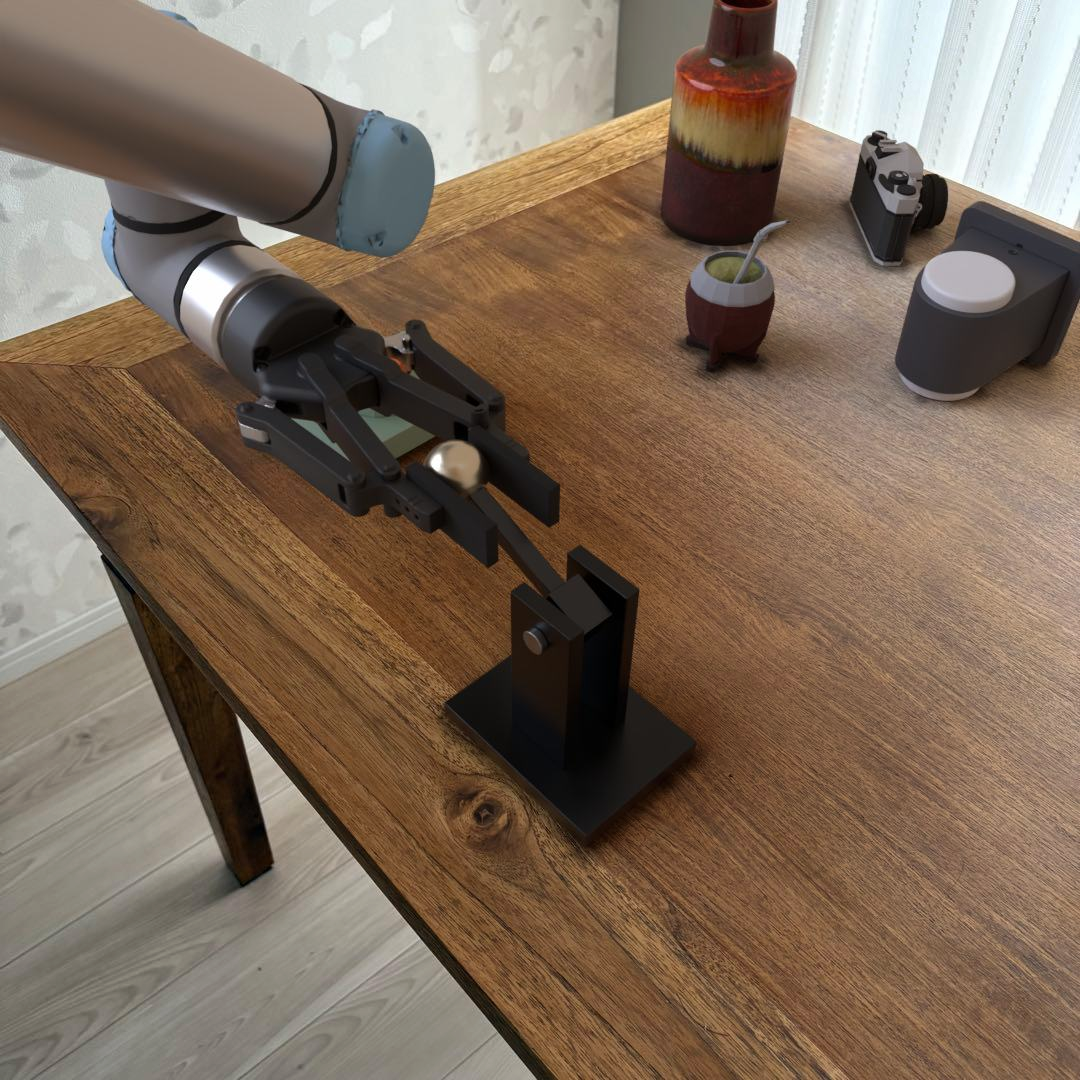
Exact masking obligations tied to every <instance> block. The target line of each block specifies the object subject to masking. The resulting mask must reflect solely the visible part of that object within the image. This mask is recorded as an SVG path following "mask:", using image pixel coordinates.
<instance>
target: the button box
mask: <svg viewBox="0 0 1080 1080" xmlns="http://www.w3.org/2000/svg"><path fill="white" fill-rule="evenodd" d="M403 333H406V330H402V331H400V332H398V333H396V334H395V335H397V334H403ZM407 373H408V374H410V375H412V376H414V377H416V378H418V376H417V375H416V374H415V372H414V370H413V371H407ZM418 379H419V378H418ZM358 413H359V414H360V416H361V417H362V418H363V419H364V421H365V422H366V423H367V424H368V425H369V427H370V428H371V429H372V430H373V432H374V433H375V434H376V435H377V436H378V438H379V439H380V440H381V441H382V443H383V444H384V445H385V446H386V447H387V449H388V450H389V451H390V452H391V454H392V455H393V456H394V457H395V459H396V460H397V459H398V458H399V457H401V456H403V455H405V454H406V453H409V452H411V451H412V450H413V449H416V448H417V447H419V446H421V445H422V444H423V445H424V443H426V442H428V441H429V440H432V439H433V438H435V437H436V436H435V435H433V434H431V433H429V432H427V431H425V430H423V429H421V428H419V427H417V426H415V425H413V424H411V423H409V422H407V421H405V420H403V419H401V418H399V417H398V416H396V415H394V414H392V415H391V416H389V417H386V416H384V415H382V414H380V413H378V412H376V411H374V410H372V409H370V408H367V409H364V410H361V411H359V412H358ZM291 419H293V418H291ZM293 420H294V421H295V422H297V423H298V424H299V425H301V426H302V427H304V428H305V429H306V430H308V431H309V432H310V433H312V434H313V435H315V436H316V437H317V438H319V439H320V440H321V441H323V442H324V443H326V444H327V445H328V446H330V447H331V448H332V449H334V450H335V451H336V452H338V453H339V454H341V455H342V456H343V457H345V458H346V459H347V460H349V459H348V458H347V457H346V455H345V454H344V453H343V451H342V450H341V449H340V448H339V446H338V445H337V444H336V443H332V442H331V441H330V440H329V438H328V437H327V436H326V435H325V433H324V432H323V431H322V429H321V428H320V427H319V425H318V424H317V423H315V422H314V421H308V420H300V419H293ZM349 461H350V460H349Z"/></svg>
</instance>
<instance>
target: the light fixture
mask: <svg viewBox="0 0 1080 1080" xmlns="http://www.w3.org/2000/svg"><path fill="white" fill-rule="evenodd" d="M1079 304H1080V241H1078V240H1076V239H1074V238H1072V237H1069V236H1067V235H1065V234H1062V233H1060V232H1057V231H1055V230H1053V229H1051V228H1048V227H1046V226H1043V225H1041V224H1039V223H1036V222H1034V221H1031V220H1029V219H1027V218H1026V217H1025V218H1024V217H1023V216H1020V215H1018V214H1015V213H1013V212H1011V211H1008V210H1006V209H1003V208H1001V207H998V206H996V205H994V204H992V203H990V202H987V201H985V200H984V201H983V200H977V201H974V202H973V203H972V204H970V205H969V206H967V207H966V208H965V209H964V210H962V212H961V215H960V217H959V221H958V225H957V228H956V231H955V235H954V238H953V241H952V242H951V243H950V244H949V245H948V246H947V247H946V248H944V249H943V250H942V251H941V252H940V253H938V255H936V256H934V257H933V258H932V259H930V260H929V261H928V262H927V263H926V265H925V266H924V267H923V268H922V269H921V270H920V271H919V273H918V274H917V275H916V277H915V280H914V283H913V286H912V290H911V294H910V298H909V301H908V305H907V309H906V313H905V317H904V321H903V325H902V328H901V333H900V336H899V340H898V344H897V347H896V352H895V355H894V356H895V357H894V364H895V367H896V369H897V370H898V375H899V378H900V379H901V381H902V383H903V384H904V385H905V386H906V387H907V388H908V389H909V390H911V391H912V392H914V393H916V394H917V395H919V396H922V397H924V398H927V399H930V400H935V401H942V402H943V401H944V402H950V401H951V402H952V401H958V400H959V401H960V400H963V399H966V398H969V397H971V396H972V395H974V394H976V393H977V391H979V389H980V388H981V387H983V386H985V385H986V384H988V383H989V382H991V381H992V380H994V379H995V378H997V377H998V376H1000V375H1001V374H1003V373H1004V372H1006V371H1008V370H1009V369H1010V368H1012V367H1013V366H1015V365H1016V364H1018V363H1019V362H1021V361H1022V360H1024V361H1026V362H1027V363H1029V364H1031V365H1034V366H1037V367H1044V366H1047V365H1048V364H1049V363H1050V362H1051V361H1052V360H1054V359H1055V358H1056V357H1057V356H1058V355H1059V353H1060V351H1061V348H1062V346H1063V343H1064V341H1065V338H1066V336H1067V333H1068V331H1069V328H1070V325H1071V324H1072V321H1073V318H1074V316H1075V313H1076V310H1077V308H1078V306H1079Z"/></svg>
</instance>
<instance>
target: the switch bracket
mask: <svg viewBox="0 0 1080 1080" xmlns="http://www.w3.org/2000/svg"><path fill="white" fill-rule="evenodd" d="M578 573H579V574H580V575H581V577H582V578H583V579H584V580H585V581H586V582H587V584H588V585H589V586H590V587H591V588H592V590H593V591H594V592H595V593H596V594H597V595H598V597H599V598H600V599H601V600H602V601H603V602H604V604H605V605H606V606H607V607H608V608H609V609H610V611H611V612H612V613H613V614H612V615H611V617H610V618H609V619H608V621H607V622H606V623H605V625H604V626H603V627H602V628H601V630H600V631H599V632H598V633H597V634H595V635H594V636H593V637H591V638H590V639H589V640H587V641H586V642H585V643H584V629H582V628H581V627H580V626H579V625H577V624H576V623H575V622H574V621H572V620H571V619H570V618H569V617H567V616H566V615H565V614H564V613H562V612H561V611H560V610H559V609H558V608H556V607H555V606H554V605H553V604H551V603H550V602H549V601H548V600H546V599H545V598H544V597H543V596H542V595H541V594H540V592H539V591H538V590H537V591H536V590H535V589H534V588H533V587H532V586H530V585H529V584H528V583H527V582H525V581H523V582H522V583H521V584H519V585H517V586H516V587H515V588H513V589H512V590H510V593H509V594H510V654H509V656H507V657H506V658H505V659H503V660H501V661H500V662H499V663H497V664H496V665H495V666H493V667H492V668H491V669H489V670H488V671H486V672H485V673H483V674H482V675H481V676H479V677H478V678H477V679H474V681H472V682H471V683H469V684H468V685H467V686H465V687H464V688H462V689H461V690H459V692H457V693H456V694H454V695H452V697H450V698H448V699H446V701H445V702H443V705H444V715H445V717H446V718H447V719H449V721H450V722H452V724H454V726H456V727H457V728H458V729H459V730H460V731H461V732H462V733H463V735H465V736H466V737H467V738H468V739H469V740H471V742H473V744H475V745H476V746H477V747H478V748H479V749H480V750H481V751H482V752H483V753H484V754H485V755H487V757H488V758H489V759H490V760H491V761H492V762H493V763H495V765H497V766H498V767H499V768H500V769H501V770H502V771H503V772H504V773H505V774H506V775H507V776H509V778H510V779H512V780H513V782H515V783H516V784H517V785H518V786H519V787H520V788H521V789H522V790H523V791H524V792H525V793H526V794H527V795H528V796H530V797H531V798H532V799H533V800H534V802H536V803H537V804H538V805H539V806H540V807H541V808H542V809H543V810H544V811H545V812H546V813H547V814H548V815H549V816H550V817H552V819H554V820H555V821H556V822H557V823H558V824H559V825H560V826H561V827H562V828H563V829H564V830H565V831H566V832H567V833H568V834H569V835H570V836H571V837H573V838H574V839H575V840H576V842H578V843H579V844H580V845H581V846H582V847H583V848H584V849H587V848H588V847H589V846H590V845H591V844H593V843H594V842H595V841H596V840H597V839H598V838H600V836H602V835H603V834H604V833H605V832H607V830H609V829H610V828H611V827H612V826H613V825H614V824H616V823H617V822H618V821H619V820H620V819H621V818H623V817H624V816H625V815H626V814H627V813H628V812H629V811H631V810H632V809H633V808H634V807H635V806H637V805H638V804H639V803H640V802H641V801H642V800H643V799H644V798H646V797H647V796H648V795H649V794H651V792H653V791H654V790H655V789H656V788H657V787H658V786H659V785H661V784H662V783H663V782H664V781H665V780H667V778H669V777H670V776H671V775H672V774H673V773H675V772H676V770H678V769H679V768H680V767H681V766H682V765H684V764H685V763H687V761H688V760H689V759H691V758H692V757H693V756H694V755H695V753H696V748H697V744H698V741H697V740H696V739H694V738H693V737H692V736H691V735H689V734H688V733H687V732H686V731H685V730H683V729H682V728H681V727H680V726H679V725H677V724H676V723H675V722H674V721H673V720H671V719H670V718H669V717H667V715H665V714H664V713H663V712H662V711H660V710H659V709H658V708H657V707H656V706H654V705H653V704H652V703H651V702H650V701H648V700H647V699H646V698H645V697H643V696H642V695H641V694H640V693H639V692H637V691H636V690H635V689H634V688H632V686H630V681H631V672H632V663H633V655H634V645H635V635H636V628H637V627H636V626H637V618H638V609H639V602H640V601H639V600H640V591H641V590H640V588H638V587H637V586H636V585H634V584H633V583H632V582H631V581H629V580H628V579H627V578H625V577H624V576H623V575H621V574H620V573H618V572H617V570H615V569H613V568H612V567H611V566H610V565H608V564H607V563H606V562H604V561H603V560H602V559H600V558H599V557H597V555H595V554H593V553H592V552H591V551H589V550H588V549H587V548H586V547H584V546H583V545H582V544H578V545H577V546H576V547H573V549H571V550H569V551H568V552H567V554H566V574H565V575H566V576H565V582H566V581H568V580H569V579H571V578H572V577H573V576H575V575H576V574H578Z"/></svg>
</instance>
